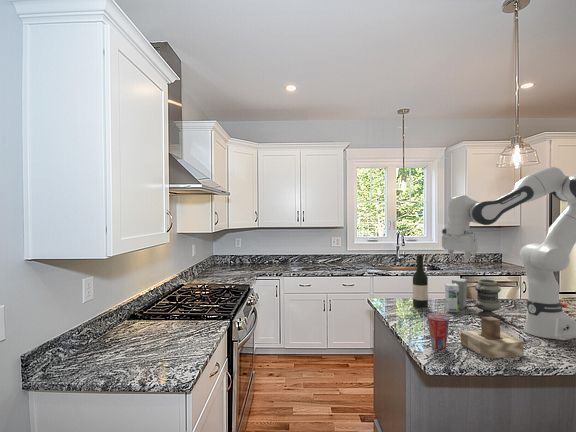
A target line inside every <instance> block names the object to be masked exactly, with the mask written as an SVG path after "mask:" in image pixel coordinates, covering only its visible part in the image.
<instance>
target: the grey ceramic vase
mask: <svg viewBox="0 0 576 432" xmlns="http://www.w3.org/2000/svg"><path fill="white" fill-rule="evenodd" d="M474 289H475V291H477V292H476V293H477V294H476V295H477V296H476V299H475V300H474V305H475V307H476V308H477V309H479V310H481V311H478V312H476V315H478V316H479V317H494V318H497V319H498V318H499V315H498V314H497V313H495V311H499V310H500V309H502V304H501V302H500V301H499V293H500V292H501V291H502V290H501V286H499V284H498V282H497V280H495V279H487V278H483V279H479V280H478V281H477V283H476V284H475V285H474Z"/></svg>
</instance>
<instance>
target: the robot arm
mask: <svg viewBox="0 0 576 432" xmlns="http://www.w3.org/2000/svg"><path fill="white" fill-rule="evenodd" d="M548 194H552V195H553V197H554V198H556V199H557V200H558V201H561V202H567V205H566V207H565V209H564V210H563V211H562V213H560V215H559V216H558V217H557V218H556V219H555V220H554V221H553V223H552V224H551V225H550V226H549V227H548V228H547V235H546V237H545V238H544V241H543V242H542V243H536V242H534V243H528V244H525V245H524V246H523V247H521V249H520V251H519V258H520V259H521V261H522V263H523V268H524V271H525V276H526V280H527V299H526V308H527V310H526V315H525V324H523V327H524V328H523V331H524V332H525V333H527V334H529V335H531V336H534V337H539V338H545V339H550V340H551V339H553V340H558V341H568V340H572V339H576V320H575V319H574V318H572V317H571V316H569V315H568V314H567V313H566V312H565V311H564V310H563V308H564V309H568V304H567V303H566V302H565V303H564V302H560V286H559V283H558V281H557V279H556V276H555V274H554V272H561V271H563V270H566V268H568V266H569V264H570V262H571V261H570V254H571V252H572V249H573V248H574V246H575V245H576V174H573V175H569V176H568V175H565V173H564V172H563V171H562V170H561V169H560V168H558V167H556V166H549V167H545V168H543V169H540V170H536V171H534V172H533V173H530V174H528V175H526V176H524V177H522V178H520V180H518V181H517V182H515V184H514V185H513V190H512V191H510V192H508V193H506V194H505V195H503V196H500V197H499V198H497V199H495V200H490V201H489V200H487V201H482V202H481V201H477V200H475V199H472V198H471V197H469V196H468V195H458V196H454V197H452V198H450V200H449V202H448V208H447V213H448V214H447V215H448V224H447V227H444V228H442V229H441V234H442V236H441V247H442V249H443V250H447V253H448V255H449V259H450V260H453V261H454V260H455V259H456V256H455V255H454V252H463V253H464V257H463V258H462V259H463V261H462V262H464V263H469V262H470V257H471V255H472V253H473V254H474V253H477V252H478V241H477V236H476V234H475V233H474V231H470V230H471V229H470V223H474V224H480V225H483V226H490V225H493V224H494V223H496V222H497V221H498V220H499V219H500V217H501V216H503V214H505V213H506V212H509V211H510V210H512V209H514V208H516V207H517V206H519V205H522V204H525V203H529V202H533V201H536V200H538V199H541V198H542V197H543V198H544V197H545V196H547V195H548Z"/></svg>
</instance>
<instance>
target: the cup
mask: <svg viewBox="0 0 576 432" xmlns="http://www.w3.org/2000/svg"><path fill="white" fill-rule="evenodd" d="M426 317H427V321H428V323H427V324H428V329H429V330H428V331H429V337H430V342H431V343H430V344H431V348H433V349H437V350H444V349H445V350H446V348H447V347H446V346H447V341H448V335H449V334H448V332H449V322H450V319H451V318H450V316H449V315H446V314H440V313H427V314H426Z"/></svg>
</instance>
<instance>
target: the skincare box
mask: <svg viewBox="0 0 576 432" xmlns="http://www.w3.org/2000/svg"><path fill="white" fill-rule="evenodd" d="M451 284H457V285H459V310H460V309H461V310H463V309H465V308H466V306H467V295H468V294H467V291H468V289H467V287H468V279H467V278H460V277H455V278H453V279H451Z"/></svg>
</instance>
